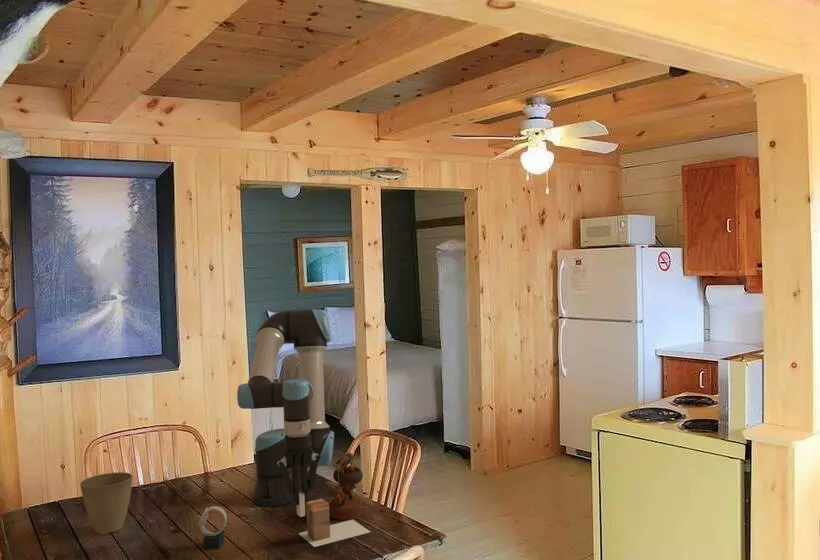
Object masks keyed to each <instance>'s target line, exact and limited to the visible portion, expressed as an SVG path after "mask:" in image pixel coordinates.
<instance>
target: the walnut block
mask: <svg viewBox="0 0 820 560" xmlns="http://www.w3.org/2000/svg"><path fill="white" fill-rule="evenodd" d="M329 504H330V502H327V501H326V500H324V499H323V498H319V499H314V500H310V501H309V500H308V502H307V503H305V510H306V526H307V528H306V529H307V530H306V531H307V532H308V537H310V538H311V539H312V540H313V541H318V540H322V539H326V538H330V525H331V523H330V522H331V520H330V515H329Z"/></svg>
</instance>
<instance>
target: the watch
mask: <svg viewBox="0 0 820 560" xmlns="http://www.w3.org/2000/svg"><path fill="white" fill-rule="evenodd" d="M212 511H216V512H218V513H220V514H221V515H222V517H223V521H222V523H221V527H220V528H219V529H218V530H208V529H206V527H205V525H204V524H205V523H206V521H207V520H208V518H209V516H210V515H211V512H212ZM227 523H228V515H227V513H226V510H225V509H223V508H222V507H221V506H218V505H213V506H209V508H208V507H206V508H205V510H204V511H203V512H202V514H201V516H200V518H199V520H198V525H199V526H198V527H199V529H200V531H201V533H202V534H204V535H205V536H204V537H203V541H202V542H203V550H219V549H220V548H221V547H222V545H223V544H224V542H225V530H224V529H225V527H226V526H227Z"/></svg>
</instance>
